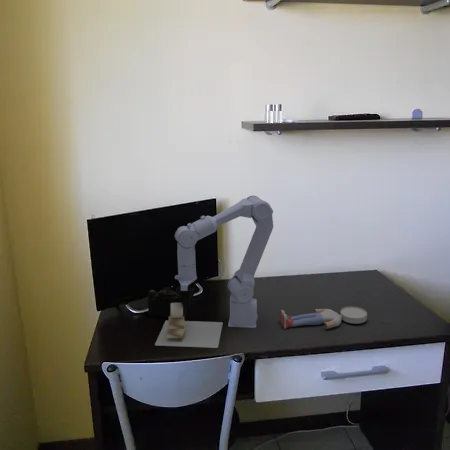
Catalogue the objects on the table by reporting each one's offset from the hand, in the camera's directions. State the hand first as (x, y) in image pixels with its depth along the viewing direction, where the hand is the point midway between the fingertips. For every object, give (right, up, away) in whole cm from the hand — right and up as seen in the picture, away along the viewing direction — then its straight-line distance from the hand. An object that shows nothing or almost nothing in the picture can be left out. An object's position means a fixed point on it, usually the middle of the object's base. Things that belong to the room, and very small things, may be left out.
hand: (188, 302), depth 160 cm
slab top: (-4, -7, -3) cm, 9 cm away
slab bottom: (-4, -10, -3) cm, 12 cm away
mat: (+1, -11, 0) cm, 11 cm away
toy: (+46, -9, +8) cm, 48 cm away
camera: (-8, -7, +16) cm, 19 cm away
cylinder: (-4, -4, -3) cm, 6 cm away
